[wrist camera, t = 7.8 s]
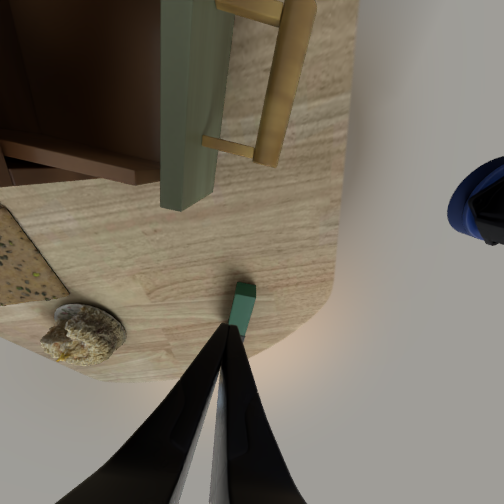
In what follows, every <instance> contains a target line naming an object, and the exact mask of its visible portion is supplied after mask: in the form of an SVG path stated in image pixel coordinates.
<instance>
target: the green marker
mask: <svg viewBox="0 0 504 504" xmlns="http://www.w3.org/2000/svg"><path fill="white" fill-rule="evenodd" d="M255 299H256V285H251V284H246V283H241V282H237V286H236V290H235V295H234V299H233V303H232V308H231V312H230V317H229V319H228V324H229V325H230V324H233V325H237V326H238V329H239V332H240V335H241V339H242V342H244V338H245V333H246V330H247V326H248V323H249V320H250V316H251V313H252V310H253V306H254V303H255Z"/></svg>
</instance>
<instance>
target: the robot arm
mask: <svg viewBox="0 0 504 504" xmlns="http://www.w3.org/2000/svg"><path fill="white" fill-rule="evenodd" d="M467 203H468V206H469V208H470V210H471V212H472V215H473V217H474V221H475V224H476V226H477V228H478V230H479V232H480V234H481V237H482V238H483V239H484V241H485V243H486V244H488V245H492V246H493V245H497V244H498V243H500V244H503V245H504V176H503V177H502V178H500V179H498V180H497V181H495V182H494V183H492V184H491V185H489V186H487V187H486V188H484V189H483V190H481V191H480V192H478V193H476V194H475V195H473V196H472V197H470V198H469V200H468V202H467ZM220 367H221V369H220ZM219 371H220V379H219V390H218V401H217V413H216V425H215V437H214V450H213V461H212V474H211V485H210V497H209V504H307V503H306V502H305V500H304V499H303V497H302V496H301V494H300V492H299V491H298V489H297V487H296V485H295V483H294V481H293V479H292V477H291V475H290V473H289V470H288V468H287V466H286V463H285V461H284V459H283V456H282V454H281V452H280V449H279V447H278V444H277V442H276V440H275V437H274V435H273V433H272V430H271V428H270V425H269V423H268V420H267V418H266V415H265V412H264V409H263V406H262V404H261V400H260V397H259V393H257V387H256V385H255V381H254V378H253V375H252V371H251V368H250V365H249V361H248V358H247V355H246V352H245V348H244V345H243V342H242V339H241V335H240V332H239V329H238V326H237V325H233V324H230V325H229V324H227V323H221V324H220V326H219V327H218V328H217V330H216V331H215V332H214V334H213V335H212V336H211V338H210V339H209V340H208V342H207V343H206V344H205V346H204V347H203V348H202V350H201V351H200V352H199V354H198V355H197V356H196V358H195V359H194V361H193V362H192V363H191V365H190V366H189V367H188V369H187V370H186V371H185V373H184V374H183V375H182V377H181V378H180V380H179V381H178V382H177V383H176V385H175V386H174V387H173V389H172V390H171V391H170V392H169V394H168V395H167V396H166V398H165V399H164V400H163V401H162V402H161V403H160V405H159V406H158V407H157V408H156V409H155V410H154V412H153V413H152V414H151V415H150V416H149V417H148V418H147V419H146V421H144V423H143V424H142V425H141V426H140V427H139V428H138V429H137V430H136V431H135V432H134V434H133V435H132V436H131V437H130V438H129V439H128V440H127V441H126V443H125V444H123V446H122V447H121V448H120V449H119V450H118V451H117V452H116V453H115V454H114V455H113V456H112V457H111V458H110V459H109V460H108V461H107V462H106V463H105V464H104V465H103V466H102V467H100V468H99V469H98V470H97V471H96V472H95V473H94V474H92V475H91V476H90V477H88V478H87V479H86V480H84V481H83V482H82V483H81V484H79V485H78V486H77V487H76V488H74V489H73V490H72V491H70V492H69V493H68V494H67V495H65V496H64V497H63V498H62V499H60V500H59V501H58V502H56V503H55V504H178V503H179V500H180V497H181V493H182V490H183V487H184V483H185V481H186V477H187V474H188V471H189V467H190V464H191V461H192V458H193V455H194V451H195V448H196V445H197V442H198V439H199V436H200V432H201V429H202V426H203V423H204V419H205V416H206V413H207V410H208V407H209V404H210V400H211V397H212V394H213V391H214V387H215V384H216V381H217V377H218V375H219Z"/></svg>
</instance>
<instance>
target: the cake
mask: <svg viewBox="0 0 504 504" xmlns="http://www.w3.org/2000/svg"><path fill="white" fill-rule="evenodd" d="M54 319H55V324H54V325H55V326H54V327H51V328H49V330H50V331H49V332H47V334H46V335H45V336H43V337H42V339H41V340H40V342H41V346H42V347H44V348H45V351H44V352H45V353H47V354H50V356H51V357H52V358H58V360H57V362H59V361H60V360H61V361H66V362H67V363H70V364H73V365H81V366H85V365H86V366H88V365H90V366H91V365H93V364H100V363H102V362H103V361H105V360H107V359H109V357H110V356H111V355H112V353H113V351H115V350H117V348H119V347H120V346H121V345H122V344H123V343H124V342H125V339H126V333H125V330H124V328H123V326H122V325H121V323H119V322H118V321H117V320H116V319H115V318H114V317H112V316H111V315H110V314H108V313H106V312H105V311H103V310H100V309H99V308H95V307H92V306H89V305H88V306H87V305H84V304H66V305H63V306H60V307H59V308H57V310H56V311H55V313H54Z"/></svg>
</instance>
